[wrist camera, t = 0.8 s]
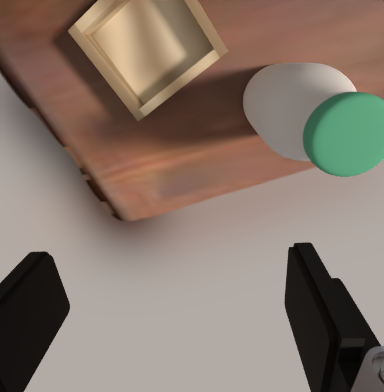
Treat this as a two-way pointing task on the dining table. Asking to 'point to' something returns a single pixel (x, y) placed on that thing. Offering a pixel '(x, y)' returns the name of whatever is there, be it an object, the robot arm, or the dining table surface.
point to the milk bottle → (316, 117)
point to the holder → (147, 47)
